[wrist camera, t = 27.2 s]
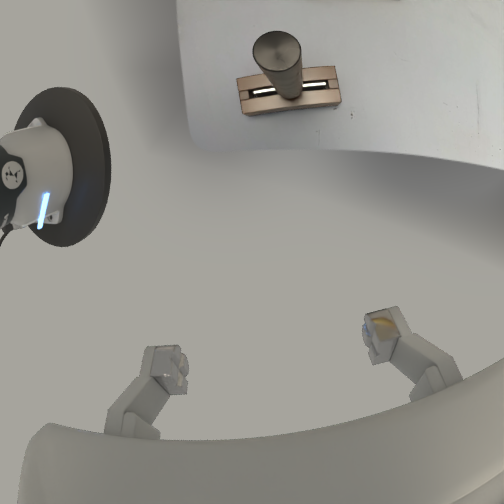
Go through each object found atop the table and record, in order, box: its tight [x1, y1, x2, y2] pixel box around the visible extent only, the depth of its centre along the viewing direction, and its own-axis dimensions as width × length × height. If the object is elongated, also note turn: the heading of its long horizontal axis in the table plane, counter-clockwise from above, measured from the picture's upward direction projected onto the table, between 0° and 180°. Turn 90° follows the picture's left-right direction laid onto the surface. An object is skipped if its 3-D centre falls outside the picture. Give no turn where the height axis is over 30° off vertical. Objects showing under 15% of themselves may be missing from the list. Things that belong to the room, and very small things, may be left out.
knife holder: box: [236, 66, 341, 116], centre depth 26 cm, size 10×4×4 cm, turn 99°
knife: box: [253, 31, 326, 99], centre depth 20 cm, size 7×3×17 cm, turn 99°
